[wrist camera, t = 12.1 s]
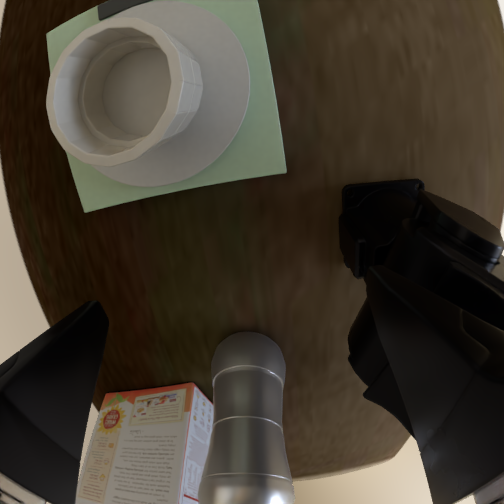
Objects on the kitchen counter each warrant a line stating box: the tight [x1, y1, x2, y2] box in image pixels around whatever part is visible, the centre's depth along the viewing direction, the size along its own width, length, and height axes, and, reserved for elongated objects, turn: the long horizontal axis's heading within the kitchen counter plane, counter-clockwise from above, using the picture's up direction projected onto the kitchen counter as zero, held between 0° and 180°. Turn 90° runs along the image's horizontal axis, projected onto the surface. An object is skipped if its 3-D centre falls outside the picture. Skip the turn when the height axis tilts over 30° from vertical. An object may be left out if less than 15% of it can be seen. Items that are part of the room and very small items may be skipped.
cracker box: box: [75, 382, 213, 504], centre depth 23 cm, size 14×6×21 cm, turn 111°
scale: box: [47, 0, 287, 213], centre depth 15 cm, size 14×14×3 cm
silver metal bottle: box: [197, 331, 295, 504], centre depth 18 cm, size 6×7×20 cm
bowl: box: [46, 17, 203, 167], centre depth 12 cm, size 7×7×5 cm
